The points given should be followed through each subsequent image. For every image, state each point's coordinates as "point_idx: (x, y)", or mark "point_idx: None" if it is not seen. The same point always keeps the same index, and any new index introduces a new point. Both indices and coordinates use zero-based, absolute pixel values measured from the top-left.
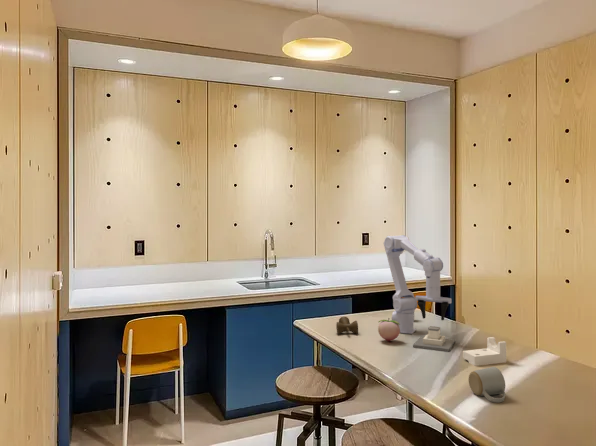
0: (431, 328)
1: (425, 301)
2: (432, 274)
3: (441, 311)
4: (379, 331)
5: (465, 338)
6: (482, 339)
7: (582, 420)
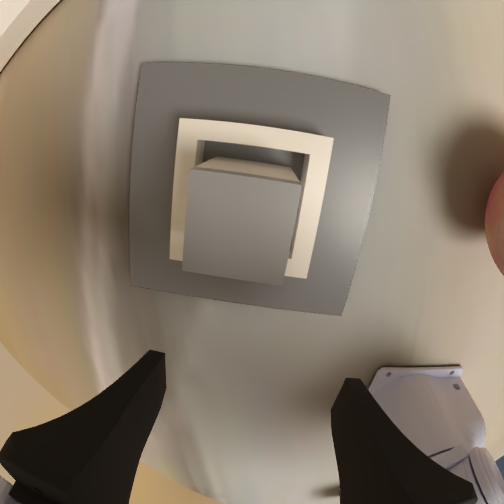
0: (263, 186)
1: None
2: None
3: (120, 415)
4: None
5: (109, 353)
6: (52, 345)
7: None
